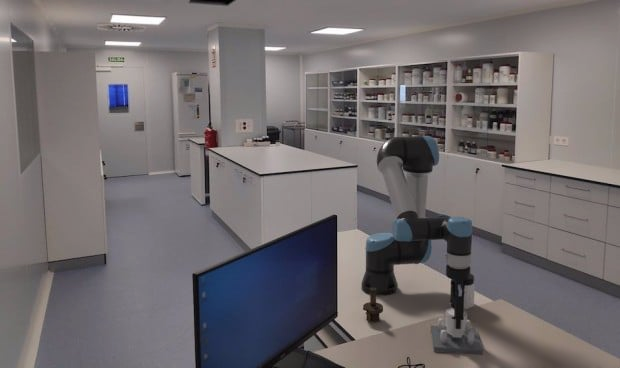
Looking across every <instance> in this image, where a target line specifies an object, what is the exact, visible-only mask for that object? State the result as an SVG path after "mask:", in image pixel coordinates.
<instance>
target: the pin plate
mask: <svg viewBox="0 0 620 368" xmlns="http://www.w3.org/2000/svg"><path fill="white" fill-rule="evenodd" d="M437 319H438V321H437V322H438V323H437V325H430V328H431V330H430V335H431V334H432V336H431V342H432V349H433V352H441V353H453V354H454V353H456V354H469V355H470V354H471V355H483V353H484V348H483V346H482V344H481V341H480V339H479V335H478V332H477V329H476V327H471V320H470V319H467V320H466V327H465V333H464V335H462V338H459V337H453V335H450V334H448V333H447V325H446V326H445V318H443V317H439V318H437Z"/></svg>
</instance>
